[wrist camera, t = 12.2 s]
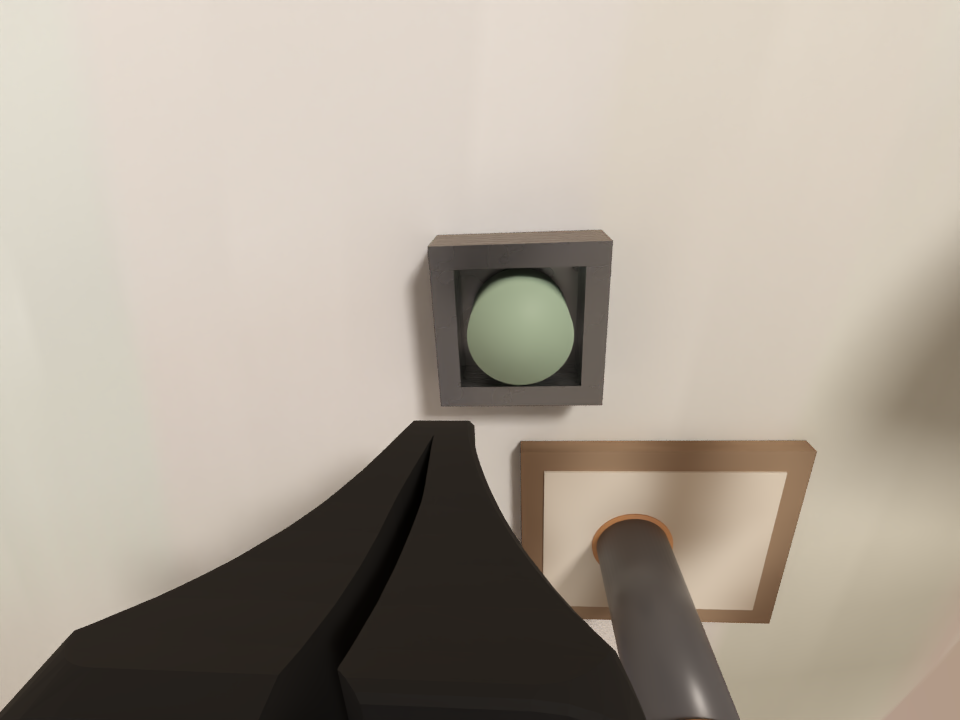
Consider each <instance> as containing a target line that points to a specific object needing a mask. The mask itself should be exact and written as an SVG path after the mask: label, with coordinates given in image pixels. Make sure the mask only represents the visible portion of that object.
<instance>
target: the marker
mask: <svg viewBox="0 0 960 720" xmlns="http://www.w3.org/2000/svg"><path fill="white" fill-rule="evenodd" d="M597 554H598V559H599V564H600V568H601V573H602V578H603V583H604V587H605V592H606V597H607V602H608V606H609V611H610V616H611V620H612V625H613V630H614V635H615V639H616V644H617V649H618V654H619V658H620V661H621V663H622V665H623V667H624V669H625V671H626V673H627V675H628V678H629V680H630V682H631V684H632V686H633V688H634V691H635V693H636V695H637V698H638V700H639V702H640V704H641V707H642V709H643V712H644V714H645V717H646V720H740V718H739V716H738V713H737V711H736V708H735V706H734V703H733V701H732V698H731V696H730V693H729V691H728V688H727V686H726V683H725V681H724V678H723V676H722V673H721V671H720V668H719V666H718V663H717V661H716V658H715V655H714V653H713V650H712V648H711V645H710V643H709V640H708V638H707V635H706V633H705V630H704V628H703V625H702V623H701V620H700V618H699V615H698V613H697V610H696V608H695V605H694V603H693V600H692V598H691V595H690V593H689V590H688V588H687V585H686V583H685V580H684V578H683V575H682V573H681V570H680V568H679V565H678V563H677V560H676V558H675V555H674V553H673V550H672V548H671V545H670V543H669V540H668V538H667V535H666V533H665V532H664V531H663V530H662V529H661V528H660V527H659V526H658V525H656V524H654V523H652V522H650V521H647V520H642V519H627V520H623V521H619V522H617V523H614V524H612V525H611V526H609V527H608V528H607V529H605V530H604V531H603V532H602V534H601V535H600V537H599V539H598V541H597Z"/></svg>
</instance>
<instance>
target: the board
mask: <svg viewBox="0 0 960 720" xmlns="http://www.w3.org/2000/svg"><path fill="white" fill-rule="evenodd" d="M816 453H817V451H816V450H815V449H814V448H813V447H812V446H811V445H810V444H809V443H808V442H807V441H521V521H522V547H523V548H524V550H525V551H526V553H527V554H528V555H529V557H530V558H531V559H532V560H533V562H534V563H535V564H536V566H537V567H538V568H539V569H540V571H541V572H542V573H543V575H544V576H545V577H546V578H547V580H548V581H549V582H550V583H551V585H552V586H553V587H554V588H555V590H556V591H557V592H558V593H559V594H560V595H561V596H562V597H563V599H564V600H565V601H566V602H567V603H568V604H569V605H570V606H571V607H572V609H573V610H574V611H575V612H576V613H577V614H578V615H579V616H580V617H581V618H582V619H604V620H611V616H610V611H609V606H608V602H607V597H606V592H605V587H604V583H603V578H602V573H601V568H600V564H599V559H598V554H597V541H598V539H599V537H600V535H601V534H602V532H603V531H604V530H605V529H607V528H608V527H609V526H611V525H612V524H614V523H617V522H619V521H623V520H627V519H642V520H647V521H650V522H652V523H654V524H656V525H658V526H659V527H660V528H661V529H662V530H663V531H664V532H665V533H666V535H667V538H668V540H669V543H670V545H671V548H672V550H673V553H674V555H675V558H676V560H677V563H678V565H679V568H680V570H681V573H682V575H683V578H684V580H685V583H686V585H687V588H688V590H689V593H690V595H691V598H692V600H693V603H694V605H695V608H696V610H697V613H698V615H699V618H700V620H701V622H729V623H769V622H770V619H771V615H772V611H773V608H774V604H775V601H776V597H777V593H778V590H779V586H780V583H781V579H782V575H783V572H784V568H785V565H786V561H787V557H788V554H789V550H790V547H791V543H792V539H793V536H794V532H795V529H796V525H797V521H798V518H799V514H800V511H801V507H802V503H803V500H804V496H805V492H806V489H807V485H808V482H809V478H810V474H811V471H812V467H813V464H814V460H815V456H816Z"/></svg>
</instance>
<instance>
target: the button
mask: <svg viewBox="0 0 960 720" xmlns="http://www.w3.org/2000/svg"><path fill="white" fill-rule="evenodd" d="M467 342H468V347H469V351H470V353H471V355H472V358H473V359H474V361H475V362H476V364H477V365H478V366H479V367H480V368H481V369H482V370H483V371H484V372H485V373H486V374H487V375H489V376H490V377H492V378H494V379H496V380H498V381H501V382H504V383H507V384H513V385H527V384H533V383H536V382H540V381H542V380H544V379H546V378H548V377H550V376H551V375H553V374H554V373H555V372H557V371H558V370H559V369H560V368H561V367H562V366H563V364H564V363H565V362H566V360H567V358H568V357H569V355H570V352H571V350H572V346H573V342H574V328H573V322H572V319H571V316H570V313H569V310H568V307H567V304H566V302H565V299H564V296H563V294H562V292H561V290H560V288H559V287H558V286H557V284H556V283H555V282H554V281H553V280H552V279H550V278H549V277H548V276H546V275H545V274H543V273H541V272H539V271H536V270H532V269H527V268H512V269H508V270H505V271H502V272H499V273H497V274H496V275H494V276H492V277H491V278H490V279H488V280H487V281H486V282H485V283H484V284H483V286H482V287H481V288H480V290H479V291H478V293H477V295H476V297H475V300H474V303H473V307H472V311H471V315H470V319H469V323H468V329H467Z"/></svg>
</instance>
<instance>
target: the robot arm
mask: <svg viewBox="0 0 960 720" xmlns="http://www.w3.org/2000/svg"><path fill="white" fill-rule="evenodd" d="M0 720H646V717H645V714H644V712H643V709H642V707H641V704H640V702H639V700H638V698H637V695H636V693H635V691H634V688H633V686H632V684H631V682H630V680H629V678H628V675H627V673H626V671H625V669H624V667H623V665H622V663H621V661H620V659H619V657H618V655H617V653H616V651H615V650H614V649H613V648H612V647H611V646H609V645H608V644H607V643H606V642H605V641H604V640H603V639H602V638H601V637H600V636H599V635H598V634H597V633H596V632H595V631H594V630H593V629H592V628H591V627H590V626H589V625H588V624H587V623H586V622H585V621H584V620H583V619H582V618H581V617H580V616H579V615H578V614H577V613H576V612H575V611H574V610H573V609H572V607H571V606H570V605H569V604H568V603H567V602H566V601H565V600H564V599H563V597H562V596H561V595H560V594H559V593H558V592H557V591H556V590H555V588H554V587H553V586H552V585H551V583H550V582H549V581H548V580H547V578H546V577H545V576H544V575H543V573H542V572H541V571H540V569H539V568H538V567H537V566H536V564H535V563H534V562H533V560H532V559H531V558H530V557H529V555H528V554H527V553H526V551H525V550H524V548H523V547H522V545H521V544H520V542H519V541H518V539H517V538H516V536H515V535H514V533H513V531H512V530H511V528H510V526H509V525H508V523H507V521H506V520H505V518H504V516H503V514H502V513H501V511H500V509H499V507H498V505H497V503H496V501H495V499H494V497H493V495H492V493H491V490H490V488H489V486H488V484H487V481H486V479H485V476H484V473H483V471H482V468H481V465H480V462H479V459H478V456H477V452H476V448H475V430H474V425H473V424H472V423H471V422H470V421H413V422H412V423H411V424H410V425H409V426H408V427H407V428H406V429H405V430H404V431H403V432H402V433H401V434H400V435H399V436H398V437H397V438H396V439H395V440H394V441H393V442H392V443H391V444H390V445H389V446H388V447H387V448H385V449H384V450H383V451H382V452H381V453H380V454H379V455H378V456H377V457H376V458H375V459H374V460H373V461H372V462H371V463H370V464H369V465H368V466H367V467H365V468H364V469H363V470H362V471H361V472H360V473H359V474H358V475H356V476H355V477H354V478H353V479H352V480H350V481H349V482H348V483H347V484H346V485H344V486H343V487H342V488H341V489H340V490H339V491H337V492H336V493H335V494H334V495H332V496H331V497H330V498H329V499H327V500H326V501H325V502H323V503H322V504H321V505H319V506H318V507H317V508H315V509H314V510H312V511H311V512H309V513H308V514H307V515H305V516H304V517H302V518H301V519H299V520H298V521H296V522H295V523H294V524H292V525H290V526H289V527H287V528H286V529H284V530H283V531H281V532H279V533H278V534H276V535H274V536H273V537H271V538H269V539H268V540H266V541H264V542H262V543H261V544H259V545H257V546H256V547H254V548H252V549H251V550H249V551H247V552H245V553H244V554H242V555H240V556H239V557H237V558H235V559H233V560H231V561H229V562H228V563H226V564H224V565H222V566H220V567H218V568H216V569H214V570H212V571H210V572H208V573H206V574H204V575H202V576H200V577H198V578H196V579H194V580H192V581H190V582H188V583H186V584H184V585H182V586H179V587H177V588H175V589H173V590H171V591H169V592H166V593H164V594H162V595H160V596H158V597H155V598H153V599H151V600H148V601H146V602H143V603H141V604H139V605H136V606H134V607H131V608H129V609H127V610H124V611H122V612H119V613H117V614H115V615H112V616H110V617H108V618H105V619H103V620H100V621H98V622H96V623H93V624H91V625H88V626H85V627H83V628H80V629H78V630H75V631H74V632H73V633H72V634H71V635H70V636H69V637H68V638H67V639H66V640H65V641H64V642H63V643H62V645H61V646H60V647H59V648H58V649H57V650H56V651H55V652H54V653H53V654H52V656H51V657H50V658H49V659H48V660H47V661H46V662H45V663H44V664H43V666H42V667H41V668H40V669H39V670H38V671H37V672H36V673H35V674H34V675H33V677H32V678H31V679H30V680H29V681H28V682H27V683H26V684H25V685H24V686H23V688H22V689H21V690H20V691H19V692H18V693H17V694H16V695H15V696H14V698H13V699H12V700H11V701H10V702H9V703H8V704H7V705H6V706H5V707H4V709H3V710H2V711H1V712H0Z"/></svg>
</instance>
